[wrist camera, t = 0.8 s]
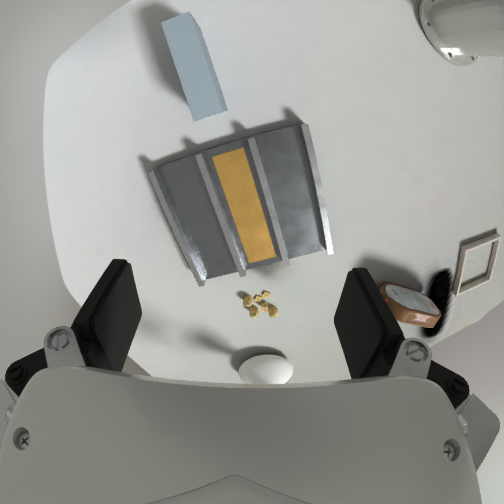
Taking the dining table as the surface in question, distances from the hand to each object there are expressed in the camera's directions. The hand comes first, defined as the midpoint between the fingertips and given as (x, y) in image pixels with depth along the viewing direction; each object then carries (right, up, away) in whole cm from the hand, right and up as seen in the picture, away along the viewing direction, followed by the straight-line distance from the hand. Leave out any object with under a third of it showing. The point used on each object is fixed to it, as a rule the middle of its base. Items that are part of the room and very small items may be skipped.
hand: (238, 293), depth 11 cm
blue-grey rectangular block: (-5, +23, +16) cm, 29 cm away
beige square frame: (+48, -1, +31) cm, 57 cm away
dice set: (+2, -6, +35) cm, 35 cm away
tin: (+28, -5, +34) cm, 44 cm away
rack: (0, +8, +25) cm, 26 cm away
